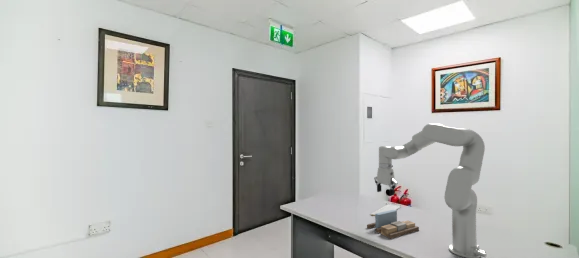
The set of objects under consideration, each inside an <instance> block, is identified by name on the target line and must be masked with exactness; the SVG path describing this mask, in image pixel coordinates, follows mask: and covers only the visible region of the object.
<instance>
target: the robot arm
mask: <svg viewBox="0 0 579 258" xmlns="http://www.w3.org/2000/svg"><path fill="white" fill-rule="evenodd" d="M435 143H439V144H443V145H447V146H450V147H462V152H461V154H460V158H459V163H458V166H457V167H455V168H453V169H451V171H450V172H449V174H448V176H447V181H446V186H445V190H444V196H443V197H444V202H445V204H446V206H447V207H448V208H450V209H451V210H452V211H451V225H452V226H451V230H452V233H451V235H452V237H451V238H452V244H449V246H448V250H449V251H450V252H451V253H452V254H454V255H456V256H459V257H461V258H481V257H483V258H486V257H487V252H486V250H482V249H480V245H479V244H477V243H478V241H477V206H478V196H477V194H476V192H475V191H474V190H473V189H472V187H473V186H474V185H476V184H477V183H478V182H479V181H480V176H481V171H482V165H483V160H484V154H485V150H486V148H485V141H484V139H483V138H482V136H480V134H479V133H477V132H476V131H474V130H472V129H470V128H462V127H460V128H456V127H451V126H445V125H444V124H442V123H434V122H433V123H431V122H430V123H428V124H426V125H425V126H423V127H422V130H420V131H419V132H416V133H415V134H413V135H412V137H411V140H410V141H409V142H407V143H404V144H403V145H398V146H390V145H389V146H388V145H380V146H378V168H377V173H376V176H375V177H374V178H373V180H374V182H375V183H374V184H375V185H376V192H377V193H380V192H382V185H385V186H388V187H389V196H391V197H392V196H394V195H395V189H396V188H397V186H398V182H397V181H396V180H395V172H394V168H393V167H394V166H393V160H401V159H406V158H408V157H410V156H412V155H414V154H416V153H418V152H419V151H421V150H422V149H425V148H426V147H428V146H431V145H432V144H435Z"/></svg>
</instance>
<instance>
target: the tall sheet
mask: <svg viewBox="0 0 579 258" xmlns="http://www.w3.org/2000/svg"><path fill="white" fill-rule="evenodd" d="M374 218H375V219H374V220H375V222H374V223H375V224H376V227H375V229H376V228H380V227H381V226H385V225H389V224H390V225H391V223H393V222H397V221H398V210H390V211H385V212H381V213H376V214H375V216H374Z"/></svg>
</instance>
